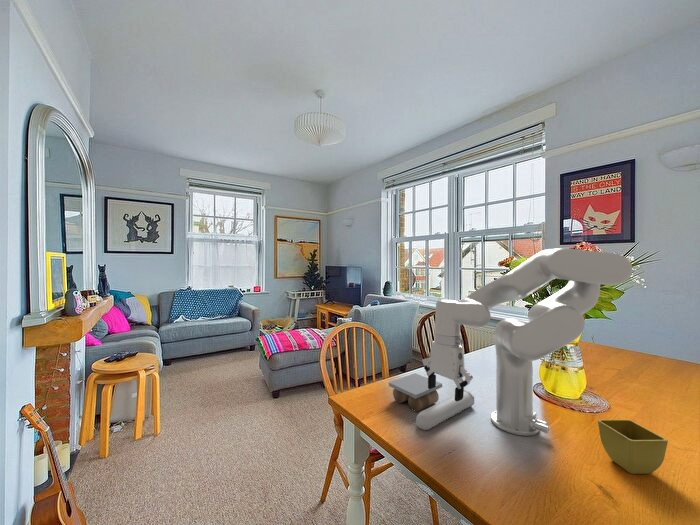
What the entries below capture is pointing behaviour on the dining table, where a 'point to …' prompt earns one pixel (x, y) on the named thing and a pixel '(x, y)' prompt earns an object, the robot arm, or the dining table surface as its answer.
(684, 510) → the dining table surface
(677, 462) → the dining table surface
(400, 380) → the slab
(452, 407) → the tube
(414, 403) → the rollers
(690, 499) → the dining table surface
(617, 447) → the flower pot
